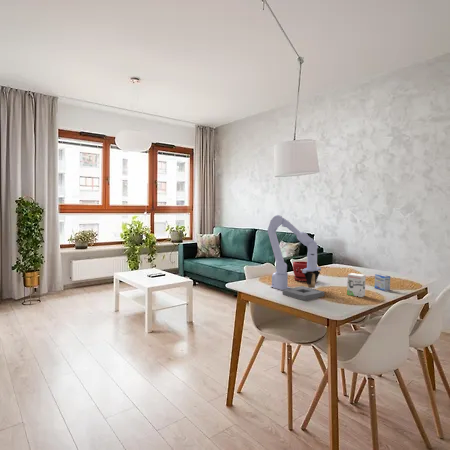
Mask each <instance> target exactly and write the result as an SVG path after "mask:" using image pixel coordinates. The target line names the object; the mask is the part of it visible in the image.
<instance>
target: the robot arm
mask: <svg viewBox="0 0 450 450" xmlns="http://www.w3.org/2000/svg"><path fill="white" fill-rule="evenodd" d="M279 227H283V228H287V229H288V230H289V231H290V232H292V233H293V234H294V235H296V239H297V241H299V242H300V243H301V244H303V246H306V248H307V255H306V258H307V259H306V262H307V268H304V269H301V270H302V273H304V275H305V277H306V280H307V281H306V284H307V285H308V284H311V279H312V275H313V273H314V274H315V285H316V284H317V281H318V278H319V276H320V274H321V271H322V267H320V266H318V249H319V245H318V243H317V241H315V240H314V238H311V237H310V235H308V233H307V232H305V231H300V229H298V228H297V227H296V226H294V224H293V223H291V222H290V221H289V220H287V219H286V218H284V217H283V216H282V215H279V214H277V215H274V216H273V217H272V218H271V220H270V221H269V225H268V228H267V235H268V237H269V242H270V245H271V248H272V252H273V256H274V259H275V265H276V267H275V272H273V273H272V275H271V286H270V288H272V287H273V289H278V290H280V291H283V290H285V289H290V288H291V287H290V286H288V279H289V277H288V276H289V274H288V272H287V271H288V264H287V263H286V262H285V259H284V256H283V253H282V250H281V245H280V243H279V239H278V236H277V231H278V229H279ZM310 272H311V273H310Z"/></svg>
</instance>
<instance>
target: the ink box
mask: <svg viewBox="0 0 450 450" xmlns="http://www.w3.org/2000/svg"><path fill="white" fill-rule="evenodd" d="M346 284H347V285H346V287H347V289H346V294H347V295H348V296H352V297H357V296H358V297H359V298H363V297H365V296H366V274H363V273H355V272H351V273H348V274H347V283H346Z"/></svg>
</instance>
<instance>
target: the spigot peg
mask: <svg viewBox="0 0 450 450" xmlns="http://www.w3.org/2000/svg"><path fill="white" fill-rule="evenodd" d="M307 287H308V288H312V289H315V288H316V284H315V274H314V273H313V275H312V279H311V284H307Z"/></svg>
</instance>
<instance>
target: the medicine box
mask: <svg viewBox="0 0 450 450" xmlns="http://www.w3.org/2000/svg"><path fill="white" fill-rule="evenodd" d="M374 289H376V290H380V291H383V292H387V291H391V276H390V275H386V274H382V273H375V274H374Z"/></svg>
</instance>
